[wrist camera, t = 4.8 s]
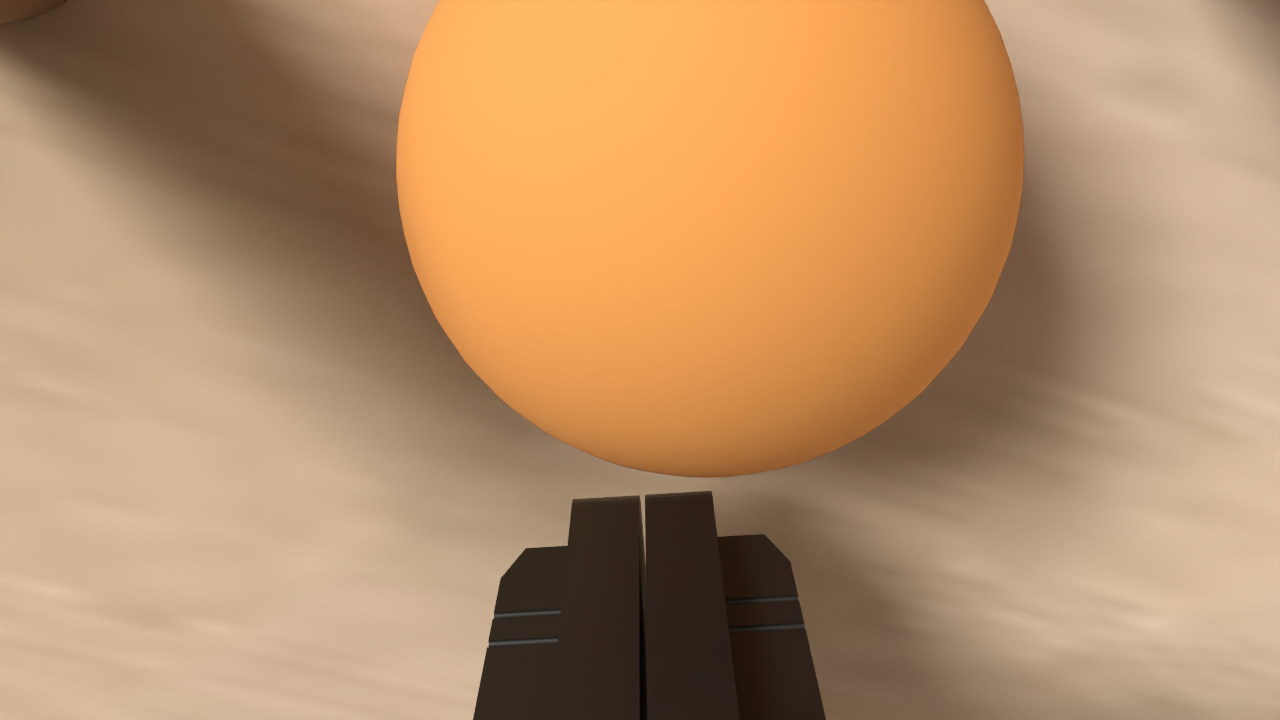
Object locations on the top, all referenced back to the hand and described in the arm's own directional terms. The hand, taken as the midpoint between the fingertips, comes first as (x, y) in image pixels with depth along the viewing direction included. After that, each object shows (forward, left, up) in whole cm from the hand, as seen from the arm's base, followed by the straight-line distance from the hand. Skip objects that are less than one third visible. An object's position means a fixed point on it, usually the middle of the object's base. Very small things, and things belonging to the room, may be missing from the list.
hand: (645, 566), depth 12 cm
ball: (+1, +5, +1) cm, 5 cm away
